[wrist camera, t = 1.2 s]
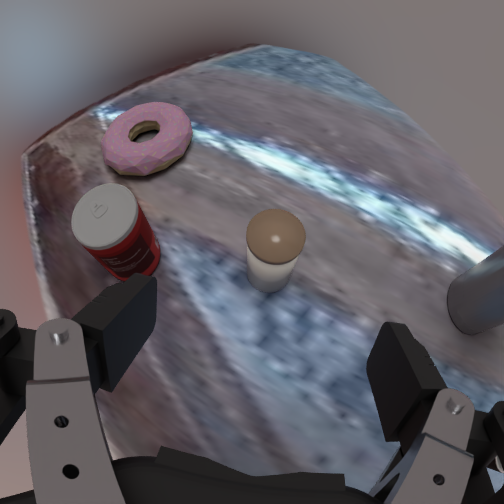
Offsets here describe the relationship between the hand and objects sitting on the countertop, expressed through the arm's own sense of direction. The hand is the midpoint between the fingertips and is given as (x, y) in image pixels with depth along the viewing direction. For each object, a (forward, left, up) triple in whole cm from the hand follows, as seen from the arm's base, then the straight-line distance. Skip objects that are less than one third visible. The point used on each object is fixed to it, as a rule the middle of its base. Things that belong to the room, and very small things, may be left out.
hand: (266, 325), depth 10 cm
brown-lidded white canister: (-9, -7, -25) cm, 28 cm away
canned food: (+3, -20, -26) cm, 33 cm away
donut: (-9, -36, -26) cm, 45 cm away
